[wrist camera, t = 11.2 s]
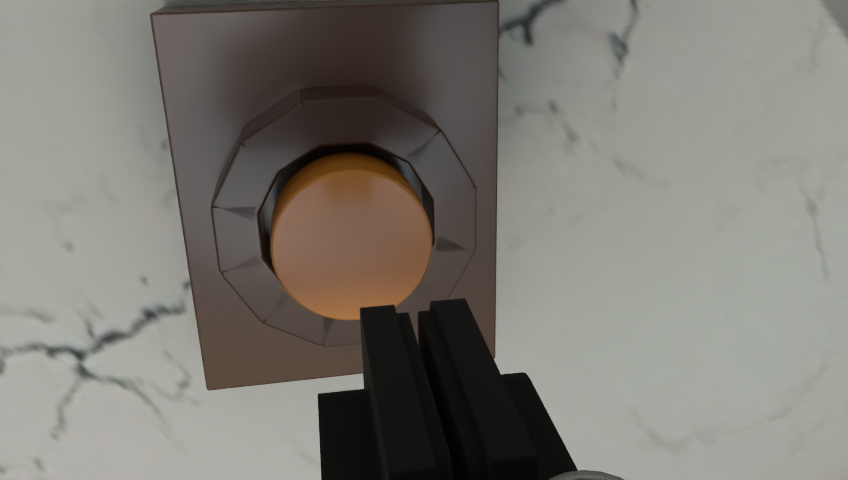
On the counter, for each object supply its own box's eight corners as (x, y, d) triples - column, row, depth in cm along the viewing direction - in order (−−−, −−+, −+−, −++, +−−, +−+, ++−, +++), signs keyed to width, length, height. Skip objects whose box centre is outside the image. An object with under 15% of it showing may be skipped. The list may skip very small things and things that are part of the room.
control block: (162, 6, 21) (135, 19, 17) (480, -5, 22) (518, 3, 18) (213, 355, 25) (200, 426, 21) (479, 327, 26) (511, 389, 22)
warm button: (264, 156, 19) (262, 176, 17) (419, 146, 20) (431, 164, 18) (279, 298, 20) (278, 329, 19) (423, 285, 21) (434, 313, 19)
